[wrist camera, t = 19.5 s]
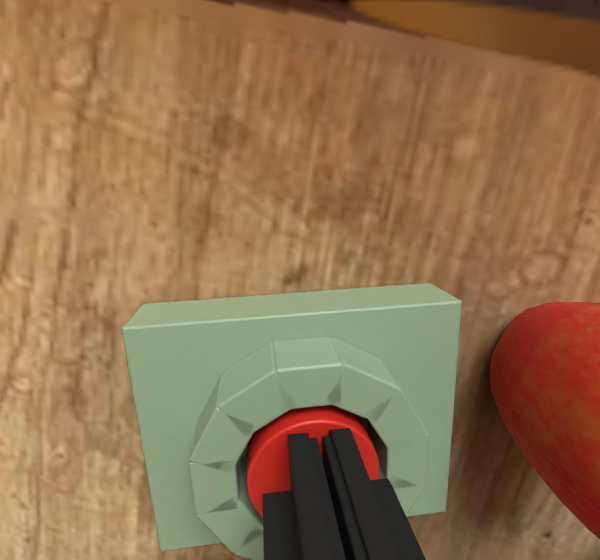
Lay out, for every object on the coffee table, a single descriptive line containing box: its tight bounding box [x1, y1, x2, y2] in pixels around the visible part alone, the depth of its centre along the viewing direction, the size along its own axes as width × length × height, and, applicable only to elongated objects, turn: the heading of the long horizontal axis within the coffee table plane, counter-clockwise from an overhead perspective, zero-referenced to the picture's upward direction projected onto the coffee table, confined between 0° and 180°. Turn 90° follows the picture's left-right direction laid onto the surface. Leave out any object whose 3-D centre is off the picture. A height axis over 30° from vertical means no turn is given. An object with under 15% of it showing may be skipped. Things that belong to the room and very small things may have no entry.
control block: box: [122, 283, 462, 560], centre depth 12 cm, size 10×8×4 cm
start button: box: [247, 405, 379, 517], centre depth 11 cm, size 4×4×2 cm
